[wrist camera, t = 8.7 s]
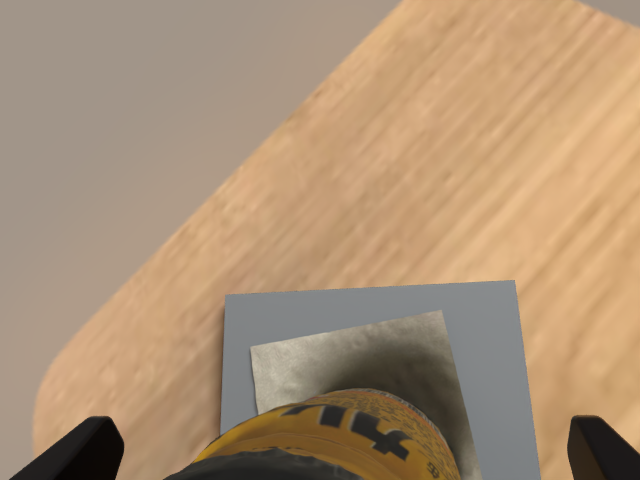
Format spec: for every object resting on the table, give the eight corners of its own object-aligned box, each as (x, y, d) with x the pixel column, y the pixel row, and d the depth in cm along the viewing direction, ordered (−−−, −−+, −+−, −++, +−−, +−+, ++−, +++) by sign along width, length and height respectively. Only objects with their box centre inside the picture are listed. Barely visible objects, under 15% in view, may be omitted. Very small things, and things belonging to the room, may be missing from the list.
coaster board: (555, 633, 15) (563, 647, 14) (222, 606, 17) (213, 617, 16) (510, 284, 18) (514, 280, 17) (232, 297, 20) (225, 294, 19)
